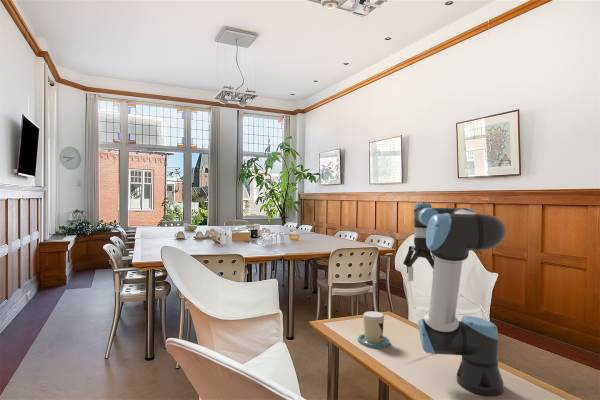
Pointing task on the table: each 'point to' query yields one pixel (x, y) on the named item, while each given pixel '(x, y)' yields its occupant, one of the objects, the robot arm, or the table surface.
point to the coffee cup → (373, 327)
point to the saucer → (381, 345)
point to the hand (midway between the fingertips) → (422, 283)
